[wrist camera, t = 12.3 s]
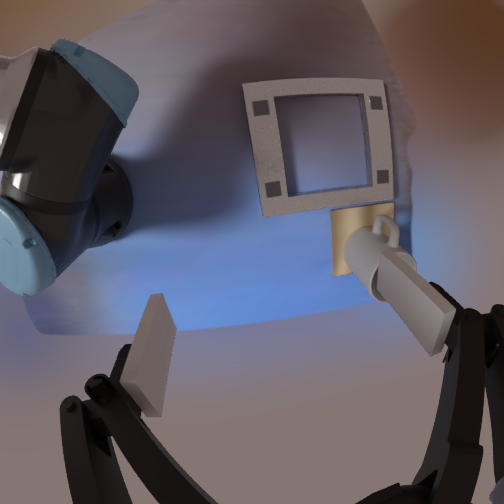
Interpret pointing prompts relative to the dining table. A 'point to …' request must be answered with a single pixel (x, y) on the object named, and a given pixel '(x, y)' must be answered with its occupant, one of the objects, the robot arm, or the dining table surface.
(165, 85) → the dining table surface
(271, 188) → the grey square frame
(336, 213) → the coaster
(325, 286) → the dining table surface
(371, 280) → the mug
